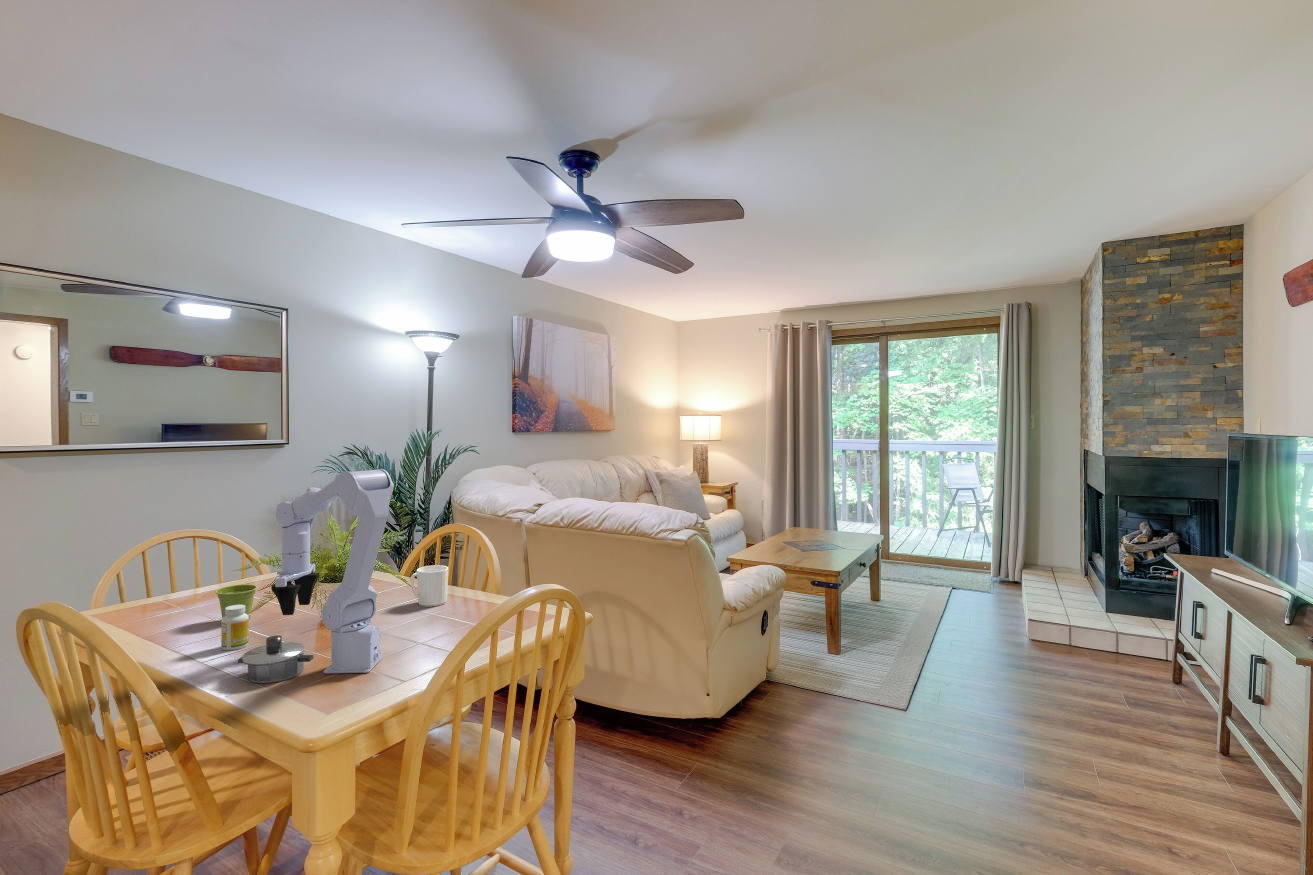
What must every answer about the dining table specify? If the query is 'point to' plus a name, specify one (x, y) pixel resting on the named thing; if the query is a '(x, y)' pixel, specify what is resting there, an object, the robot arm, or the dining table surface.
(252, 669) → the pot
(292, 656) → the lid
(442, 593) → the mug
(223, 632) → the supplement bottle
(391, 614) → the dining table surface
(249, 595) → the plant pot
